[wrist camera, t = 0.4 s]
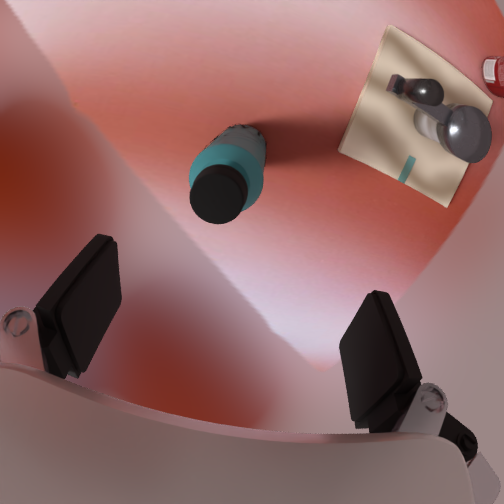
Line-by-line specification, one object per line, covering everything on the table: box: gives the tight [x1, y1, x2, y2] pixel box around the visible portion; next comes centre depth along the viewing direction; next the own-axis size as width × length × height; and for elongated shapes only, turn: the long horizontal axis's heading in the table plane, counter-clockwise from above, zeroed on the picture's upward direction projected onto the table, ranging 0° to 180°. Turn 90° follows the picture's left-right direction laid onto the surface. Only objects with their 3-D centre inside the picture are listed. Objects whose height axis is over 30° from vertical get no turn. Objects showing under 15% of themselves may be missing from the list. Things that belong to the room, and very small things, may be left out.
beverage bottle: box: [189, 124, 266, 224], centre depth 28 cm, size 6×7×20 cm
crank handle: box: [386, 74, 492, 163], centre depth 21 cm, size 14×6×7 cm, turn 71°
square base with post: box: [338, 25, 493, 208], centre depth 28 cm, size 20×20×8 cm
